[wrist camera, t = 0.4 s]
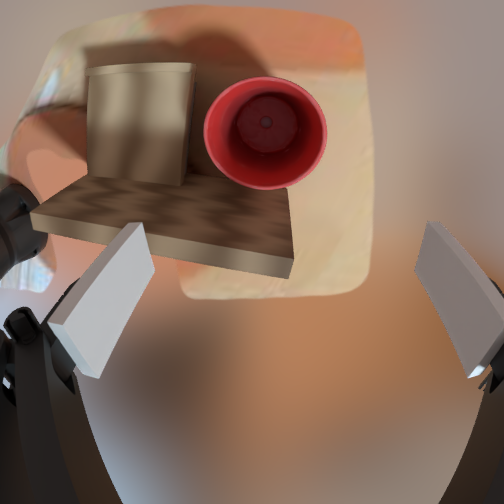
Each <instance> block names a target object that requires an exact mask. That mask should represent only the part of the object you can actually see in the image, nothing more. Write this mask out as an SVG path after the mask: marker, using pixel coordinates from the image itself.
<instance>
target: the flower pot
mask: <svg viewBox="0 0 504 504" xmlns="http://www.w3.org/2000/svg"><path fill="white" fill-rule="evenodd" d="M203 136H204V142H205V146H206V149H207V152H208V154H209V156H210V158H211V160H212V161H213V163H214V164H215V165H216V167H217V168H218V169H219V170H220V171H221V172H222V173H223V174H224V175H226V176H227V177H228V178H230V179H231V180H233V181H234V182H236V183H238V184H240V185H243V186H246V187H249V188H253V189H260V190H272V189H279V188H284V187H287V186H290V185H293V184H295V183H297V182H298V181H300V180H302V179H303V178H305V177H306V176H307V175H308V174H310V173H311V172H312V171H313V169H314V168H315V167H316V166H317V164H318V163H319V161H320V159H321V158H322V155H323V153H324V150H325V147H326V142H327V125H326V120H325V117H324V114H323V112H322V110H321V108H320V106H319V104H318V103H317V102H316V100H315V99H314V98H313V97H312V96H311V95H310V94H309V93H308V92H307V91H306V90H305V89H303V88H302V87H300V86H299V85H297V84H295V83H293V82H290V81H288V80H285V79H282V78H277V77H270V76H258V77H251V78H247V79H244V80H241V81H238V82H236V83H234V84H232V85H231V86H229V87H228V88H226V89H225V90H224V91H222V92H221V93H220V94H219V95H218V96H217V97H216V99H215V100H214V101H213V103H212V104H211V106H210V107H209V109H208V111H207V114H206V116H205V120H204V127H203Z"/></svg>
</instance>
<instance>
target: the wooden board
mask: <svg viewBox="0 0 504 504" xmlns="http://www.w3.org/2000/svg"><path fill="white" fill-rule="evenodd" d="M30 216H31V221H32V226H33V230H37V231H42V232H46V233H51V234H55V235H60V236H65V237H69V238H74V239H79V240H84V241H88V242H93V243H98V244H102V245H107V246H108V245H109V243H110V242H111V241H112V240H113V239H114V238H115V237H116V236H117V235H118V233H119V232H120V231H121V230H122V229H123V228H124V227H125V226H126V225H127V224H128V223H135V222H142V224H143V228H144V232H145V236H146V240H147V244H148V247H149V251H150V254H152V255H158V256H162V257H168V258H173V259H178V260H183V261H189V262H194V263H199V264H205V265H210V266H216V267H221V268H227V269H232V270H238V271H244V272H249V273H255V274H261V275H267V276H272V277H278V278H284V279H288V278H289V275H290V272H291V268H292V265H293V261H294V252H293V241H292V230H291V220H290V210H289V200H288V191H287V189H282V188H279V189H272V190H260V189H253V188H249V187H246V186H243V185H240V184H238V183H236V182H234V181H233V180H231V179H225V178H219V177H212V176H205V175H198V174H191V173H186V174H185V175H184V182H183V183H182V184H181V186H175V185H167V184H160V183H152V182H143V181H135V180H126V179H116V178H107V177H96V176H88V174H87V175H85V176H83V177H82V178H80V179H78V180H77V181H75V182H74V183H72V184H70V185H69V186H67V187H66V188H64V189H63V190H61V191H60V192H58V193H57V194H55V195H54V196H52V197H51V198H49V199H48V200H46V201H45V202H43V203H42V204H41V205H39V206H38V207H36V208H35V209H34V210H32V211H31V212H30Z"/></svg>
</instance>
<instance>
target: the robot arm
mask: <svg viewBox="0 0 504 504" xmlns="http://www.w3.org/2000/svg"><path fill="white" fill-rule="evenodd" d="M38 206H39V203H38V201H37V200H36V198H35V197H34V196H33V194H32V193H31V192H30V191H29V190H28V189H26V188H25V187H23V186H22V185H19V184H12V185H10V186H8V187H6V188H5V189H3V190H2V191H1V192H0V280H1V279H2V278H3V277H4V275H5V274H6V273H7V272H8V271H9V270H10V269H11V268H12V267H13V266H14V265H16V264H18V263H21V262H23V261H26V260H28V259H30V258H33V257H35V256H36V255H38V254H39V253H40V252H41V251H42V250H43V249H44V247H45V246H46V243H47V239H48V233H46V232H42V231H37V230H33V226H32V221H31V216H30V212H31V211H32V210H34V209H35V208H36V207H38ZM414 271H415V273H416V274H417V276H418V278H419V279H420V281H421V283H422V285H423V286H424V288H425V290H426V292H427V294H428V295H429V297H430V299H431V301H432V303H433V305H434V306H435V308H436V310H437V312H438V314H439V316H440V318H441V320H442V322H443V324H444V326H445V328H446V330H447V332H448V334H449V336H450V338H451V341H452V343H453V345H454V347H455V349H456V351H457V354H458V356H459V358H460V361H461V363H462V365H463V368H464V370H465V373H466V375H467V378H470V377H473V376H477V375H480V374H482V373H483V372H484V370H485V369H486V368H487V366H488V365H489V364H490V365H491V367H492V371H491V372H490V373H489V374H488V376H487V377H486V378H485V379H484V380H483V382H482V383H481V384H480V386H479V389H481V388H482V387H483V385H484V384H486V387H485V389H484V390H483V391H484V395H483V399H482V402H481V405H480V409H479V412H478V415H477V419H476V421H475V425H474V427H473V430H472V433H471V436H470V438H469V441H468V444H467V446H466V449H465V451H464V453H463V456H462V458H461V460H460V463H459V465H458V467H457V469H456V471H455V474H454V476H453V478H452V480H451V482H450V484H449V486H448V487H447V489H446V491H445V493H444V495H443V497H442V498H441V500H440V502H439V504H504V294H502V291H501V290H500V288H499V287H498V285H497V284H496V283H495V282H494V281H492V280H491V279H490V278H489V277H487V275H486V274H485V273H484V272H483V270H482V269H481V268H480V267H479V265H478V264H477V263H476V262H475V261H474V259H473V258H472V257H471V256H470V255H469V253H468V252H467V251H466V250H465V249H464V248H463V246H462V245H461V244H460V243H459V242H458V241H457V240H456V239H455V238H454V236H453V235H452V234H451V233H450V232H449V231H448V230H447V229H446V228H445V227H444V226H443V225H442V224H441V223H440V222H430V221H428V222H427V225H426V229H425V233H424V237H423V241H422V245H421V249H420V253H419V256H418V260H417V263H416V266H415V270H414ZM154 272H155V269H154V266H153V263H152V259H151V255H150V251H149V247H148V244H147V240H146V236H145V232H144V228H143V224H142V222H135V223H128V224H127V225H126V226H125V227H124V228H123V229H122V230H121V231H120V232H119V233H118V235H117V236H116V237H115V238H114V239H113V240H112V241H111V242H110V243H109V245H108V246H107V247H106V248H105V249H104V250H103V251H102V253H101V254H100V255H99V256H98V257H97V258H96V260H95V261H94V262H93V263H92V264H91V265H90V267H89V268H88V269H87V270H86V271H85V273H84V274H83V275H82V276H81V278H79V279H77V280H76V281H75V282H74V283H72V284H71V285H70V286H69V287H68V288H67V290H66V291H65V292H64V295H62V296H61V297H60V299H59V300H58V302H57V303H56V304H55V305H54V307H53V308H52V309H51V311H50V312H49V313H48V315H47V316H46V318H45V319H44V320H43V322H42V323H41V324H39V322H38V321H37V319H36V317H35V316H34V314H33V312H32V311H31V309H30V308H28V307H21V308H18V309H16V310H14V311H13V312H12V313H11V314H10V315H9V316H8V317H7V318H6V320H5V322H4V325H3V326H4V328H5V329H6V331H7V332H8V334H9V335H10V337H11V338H12V339H9V338H8V337H7V336H6V334H5V333H4V331H2V330H1V329H0V504H123V503H122V501H121V499H120V497H119V495H118V493H117V491H116V489H115V487H114V485H113V483H112V481H111V478H110V476H109V474H108V472H107V469H106V467H105V465H104V462H103V460H102V457H101V455H100V452H99V450H98V447H97V445H96V442H95V439H94V436H93V433H92V430H91V427H90V424H89V421H88V418H87V415H86V411H85V408H84V405H83V401H82V397H81V393H80V390H79V386H78V382H77V377H76V376H75V374H74V372H73V370H74V368H75V366H76V365H77V367H78V368H79V369H80V371H81V372H82V373H83V375H87V376H91V377H94V378H99V377H100V375H101V373H102V371H103V369H104V367H105V365H106V363H107V360H108V358H109V356H110V354H111V352H112V350H113V348H114V346H115V344H116V342H117V340H118V338H119V336H120V334H121V332H122V330H123V329H124V327H125V324H126V323H127V321H128V319H129V317H130V315H131V313H132V311H133V309H134V308H135V306H136V304H137V302H138V300H139V298H140V297H141V295H142V293H143V291H144V289H145V288H146V286H147V284H148V282H149V281H150V279H151V277H152V275H153V274H154ZM4 377H5V378H6V380H7V381H8V382H10V388H9V389H8V388H7V387H6V386H5V385H4V384H3V378H4Z"/></svg>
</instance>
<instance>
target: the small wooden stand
mask: <svg viewBox="0 0 504 504" xmlns="http://www.w3.org/2000/svg"><path fill="white" fill-rule="evenodd" d="M196 67H197V65H195V64H192V63H134V64H120V65H109V66H100V67H92V68H86V70H85V76H90V77H89V88H88V104H87V170H88V176H96V177H107V178H116V179H126V180H135V181H143V182H152V183H160V184H167V185H175V186H181V184H182V183H183V182H184V175H185V174H186V173H187V161H188V150H189V139H190V130H191V121H192V112H193V104H194V97H195V89H196V82H194V80H195V73H196Z"/></svg>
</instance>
